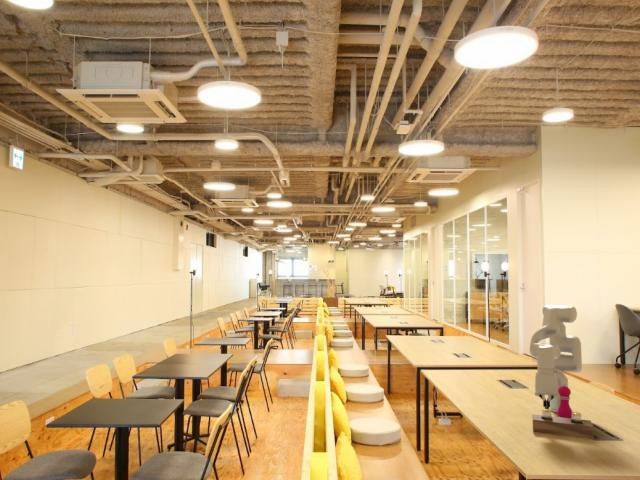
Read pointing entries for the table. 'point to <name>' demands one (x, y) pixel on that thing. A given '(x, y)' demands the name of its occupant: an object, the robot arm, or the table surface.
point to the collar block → (563, 427)
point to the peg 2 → (576, 417)
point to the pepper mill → (564, 402)
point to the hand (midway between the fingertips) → (546, 408)
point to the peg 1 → (546, 414)
